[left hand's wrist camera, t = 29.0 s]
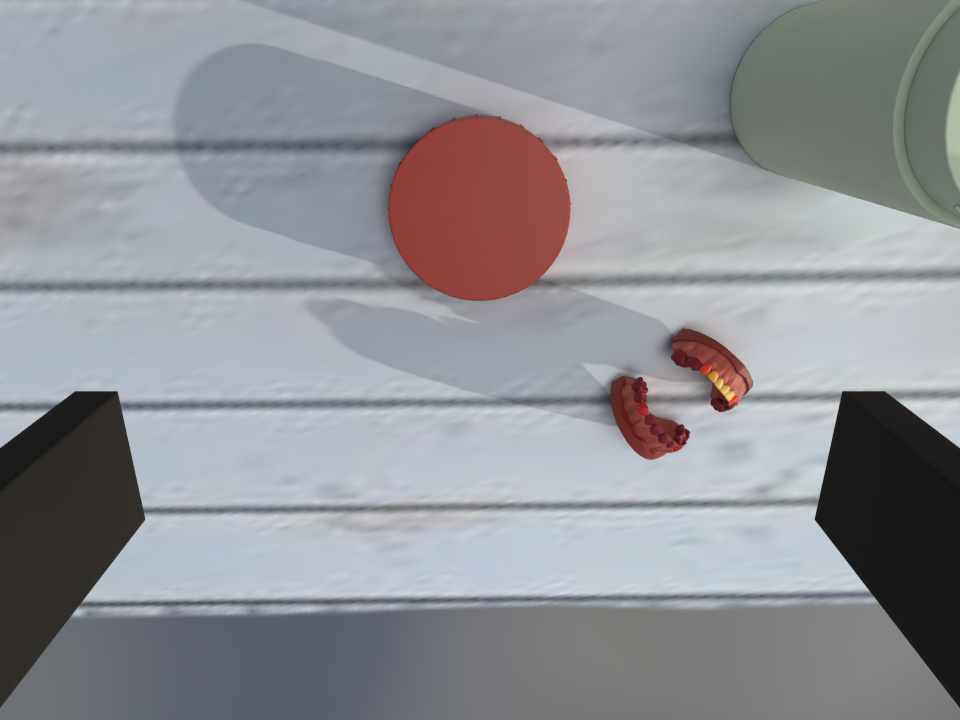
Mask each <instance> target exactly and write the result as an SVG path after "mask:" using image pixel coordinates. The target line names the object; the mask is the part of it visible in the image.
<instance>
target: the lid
mask: <svg viewBox="0 0 960 720" xmlns="http://www.w3.org/2000/svg"><path fill="white" fill-rule="evenodd" d="M542 142H543V141H542V140H541V139H540V138H536V137H535V136H534V135H533V134H532V133H530V132H529V131H527V130H526V129H524V127H523V126H522V125H521V124H520V126H519V125H517V124H515V123H513V122H511V121H508V120H504V119H502V118H501V117H500V116H499V118H497V117H491V116H478V114H476V116H469V117H462V118H458V119H455V118H453V119H452V120H451V121H449V122H447V123H444V124H442V125H440V126H438V127H437V128H435V127H433V128H432V129H431V131H430V132H429V133H428V134H426V135H425V136H424V137H423V138H421V139H420V140H419V141H418V142H417V141H416V142H415V143H414V144H413V145H412V146H413V148H412V149H411V150H410V151H409V152H408V154H407V155H406V156H405V158H404V159H403V160H402V161H401V162H400V163H399V165H400V166H399V168H398V170H397V172H396V175H395V177H394V180H393V183H392V185H391V192H390V198H389V208H388V210H389V220H390V226H391V232H392V235H393V238H394V241H395V244H396V246H397V248H398V250H399V252H400V254H401V256H402V257H403V259H404V261H405V262H406V263H407V265H408V266H409V267H410V268H411V270H412V271H413V272H414V273H415V274H416V275H417V276H418V277H419V278H420V279H421V280H423V281H424V282H425V283H427V284H428V285H429V286H431V287H433V288H434V289H436V290H438V291H440V292H442V293H444V294H447V295H449V296H452V297H456V298H460V299H465V300H472V301H486V300H495V299H499V298H503V297H507V296H510V295H512V294H515V293H517V292H519V291H521V290H523V289H525V288H527V287H528V286H530V285H531V284H533V283H534V282H535V281H537V280H538V279H539V278H540V277H541V276H542V275H543V274H544V273H545V272H546V271H547V270H548V269H549V268H550V266H551V265H552V264H553V262H554V261H555V259H556V258H557V256H558V255H559V253H560V251H561V248H562V246H563V244H564V242H565V239H566V236H567V232H568V228H569V222H570V205H571V202H570V196H569V191H568V186H567V183H566V182H567V180H566V179H565V177H564V174H563V172H562V170H561V168H560V166H559V164H558V162H557V158H556V157H555V156H554V155H552V153H551V152H550V151H549V150H548V149H547V147H546V146H545V145H544V144H543V143H542Z"/></svg>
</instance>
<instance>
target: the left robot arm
mask: <svg viewBox="0 0 960 720" xmlns="http://www.w3.org/2000/svg"><path fill="white" fill-rule="evenodd" d="M144 521H145V516H144V511H143V507H142V502H141V497H140V493H139V488H138V484H137V479H136V474H135V470H134V465H133V461H132V456H131V451H130V447H129V442H128V437H127V433H126V428H125V424H124V419H123V414H122V410H121V405H120V401H119V396H118V391H75V392H74V393H72V394H71V395H70V396H69V397H67V398H66V399H65V400H63V401H62V402H61V403H59V404H58V405H57V406H55V407H54V408H53V409H51V410H50V411H49V412H47V413H46V414H45V415H43V416H42V417H41V418H39V419H38V420H37V421H35V422H34V423H33V424H32V425H30V426H29V427H28V428H26V429H25V430H24V431H22V432H21V433H20V434H18V435H17V436H16V437H14V438H13V439H12V440H10V441H9V442H8V443H6V444H5V445H4V446H2V447H1V448H0V707H1V706H2V705H3V703H4V702H5V701H6V700H7V698H8V697H9V696H10V694H11V693H12V692H13V690H14V689H15V688H16V687H17V685H18V684H19V683H20V681H21V680H22V679H23V678H24V676H25V675H26V674H27V672H28V671H29V670H30V668H31V667H32V666H33V665H34V663H35V662H36V661H37V659H38V658H39V657H40V655H41V654H42V653H43V652H44V650H45V649H46V648H47V646H48V645H49V644H50V643H51V641H52V640H53V639H54V637H55V636H56V635H57V633H58V632H59V631H60V630H61V628H62V627H63V626H64V624H65V623H66V622H67V620H68V619H69V618H70V617H71V615H72V614H73V613H74V611H75V610H76V609H77V607H78V606H79V605H80V604H81V602H82V601H83V600H84V598H85V597H86V596H87V595H88V593H89V592H90V591H91V589H92V588H93V587H94V585H95V584H96V583H97V582H98V580H99V579H100V578H101V576H102V575H103V574H104V572H105V571H106V570H107V569H108V567H109V566H110V565H111V563H112V562H113V561H114V559H115V558H116V557H117V556H118V554H119V553H120V552H121V550H122V549H123V548H124V546H125V545H126V544H127V543H128V541H129V540H130V539H131V537H132V536H133V535H134V534H135V532H136V531H137V530H138V528H139V527H140V526H141V524H142V523H143V522H144ZM815 521H816V522H817V523H818V524H819V526H820V527H821V528H822V530H823V531H824V532H825V534H826V535H827V536H828V537H829V539H830V540H831V541H832V543H833V544H834V545H835V546H836V548H837V549H838V550H839V552H840V553H841V554H842V556H843V557H844V558H845V559H846V561H847V562H848V563H849V565H850V566H851V567H852V569H853V570H854V571H855V572H856V574H857V575H858V576H859V578H860V579H861V580H862V582H863V583H864V584H865V585H866V587H867V588H868V589H869V591H870V592H871V593H872V595H873V596H874V597H875V598H876V600H877V601H878V602H879V604H880V605H881V606H882V607H883V609H884V610H885V611H886V613H887V614H888V615H889V617H890V618H891V619H892V620H893V622H894V623H895V624H896V626H897V627H898V628H899V630H900V631H901V632H902V633H903V635H904V636H905V637H906V639H907V640H908V641H909V643H910V644H911V645H912V646H913V648H914V649H915V650H916V652H917V653H918V654H919V655H920V657H921V658H922V659H923V661H924V662H925V663H926V665H927V666H928V667H929V669H930V670H931V671H932V672H933V674H934V675H935V676H936V678H937V679H938V680H939V681H940V683H941V684H942V685H943V687H944V688H945V689H946V691H947V692H948V693H949V694H950V696H951V697H952V698H953V700H954V701H955V702H956V704H957V705H958V706H959V707H960V448H959V447H958V446H956V445H955V444H954V443H952V442H951V441H950V440H948V439H947V438H946V437H944V436H943V435H942V434H940V433H939V432H938V431H936V430H935V429H934V428H932V427H931V426H930V425H928V424H927V423H926V422H925V421H923V420H922V419H921V418H919V417H918V416H917V415H915V414H914V413H913V412H911V411H910V410H909V409H907V408H906V407H905V406H903V405H902V404H901V403H899V402H898V401H897V400H895V399H894V398H893V397H891V396H890V395H889V394H888V393H886V392H885V391H842V396H841V401H840V405H839V410H838V414H837V419H836V424H835V428H834V433H833V437H832V442H831V447H830V451H829V456H828V461H827V465H826V470H825V474H824V479H823V484H822V488H821V493H820V497H819V502H818V507H817V511H816V516H815Z"/></svg>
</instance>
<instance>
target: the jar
mask: <svg viewBox="0 0 960 720" xmlns="http://www.w3.org/2000/svg"><path fill="white" fill-rule="evenodd" d="M730 110H731V119H732V125H733V128H734V131H735V134H736V137H737V139H738V141H739V143H740V145H741V146H742V148H743V149H744V151H745V152H746V153H747V154H748V155H749V157H750V158H751V159H752V160H753V161H755V162H756V163H757V164H758V165H760V166H761V167H763V168H765V169H766V170H768V171H771V172H773V173H776V174H779V175H782V176H785V177H789V178H792V179H795V180H799V181H802V182H805V183H809V184H812V185H815V186H819V187H822V188H825V189H829V190H832V191H835V192H839V193H842V194H845V195H849V196H852V197H855V198H859V199H862V200H866V201H869V202H872V203H876V204H879V205H882V206H886V207H889V208H892V209H896V210H899V211H902V212H906V213H909V214H912V215H916V216H919V217H922V218H926V219H929V220H932V221H936V222H939V223H942V224H946V225H949V226H952V227H956V228H959V229H960V0H824V1H820V2H816V3H812V4H808V5H804V6H802V7H799V8H796V9H794V10H792V11H790V12H787V13H785V14H784V15H782V16H781V17H779V18H778V19H776V20H774V21H773V22H772V23H771V24H770V25H768V26H767V27H766V28H765V29H764V30H763V31H762V32H761V33H760V34H759V35H758V36H757V37H756V38H755V40H754V41H753V42H752V44H751V45H750V46H749V48H748V49H747V51H746V53H745V54H744V56H743V58H742V60H741V62H740V64H739V66H738V69H737V71H736V74H735V77H734V81H733V85H732V90H731V100H730Z"/></svg>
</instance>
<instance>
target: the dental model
mask: <svg viewBox="0 0 960 720" xmlns="http://www.w3.org/2000/svg"><path fill="white" fill-rule="evenodd" d="M672 341H673V343H672V347H673V351H674V353H673V354H672V356H671V359H672V360H673V361H674V362H675V364H676V365H680V366H681V367H684V368H686V367H691V368H692V370H700V371H701V373H702V374H703V375H708V374H709V375H708V378H709V379H710V380H711V381H712V382H713V386H712V391H711V395H710V397H711V399H712V400H711V406H713V408H714V409H715V410H717V411H718V412H725V411H727V410H731V409H732V408H734V407H735V406H737V405H738V403H739V402H740V400H741V398H742V396H743V395H745V394H746V393H747V392H748V391H749V390H750V389H751V388H752V386H753V380H752V378H751V376H750V373H749V372H748V370H747V369H746V367H745V366H744V364H743V363H742V362H741V361H740V360H739V359H738V358H737V357H736V356H734V355H733V354H732V353H731V352H730V351H729V350H728V349H727V348H725V347H724V346H723V345H721V344H720V343H718V342H717V341H715V340H714V339H712V338H710V337H708V336H706V335H704V334H702V333H700V332H697V331H694V330H690V329H684V328H683V329H682V330H681V331H680V332H679V333H678V334H677V335H676V337H675V338H674V339H673V340H672ZM646 386H647V384H646V382H644V381H643V378H642V377H639V378H637V379H635V378H631V377H626V376H622V377H621V378H619V379H617V380H615V381H613V382H612V384H611V404H612V409H613V413H614V416H615V419H616V422H617V425H618V427H619V429H620V431H621V433H622V434H623V436H624V438H625V439H626V441H627V442H628V444H629V445H630V446H631V447H632V449H633V450H634V451H635V452H636V453H638V454H639V455H640V456H642V457H644V458H646V459H649V460H653V459H657V458H659V457H661V456H663V455H665V454H666V453H673V452H676V451H678V450H680V449H681V448H683V446H685V444H687V442H686V441H687V440H688V438H689V434H690V431H688V430H687V429H685V428H684V425H679V424H677V423H676V422H674V421H672V420H663V419H660V418H657V417H655V416H653V415H652V414H650V413H649V411H648V406H647V405H646V404H647V395H646V394H645V393H647V392H648V388H646Z"/></svg>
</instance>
